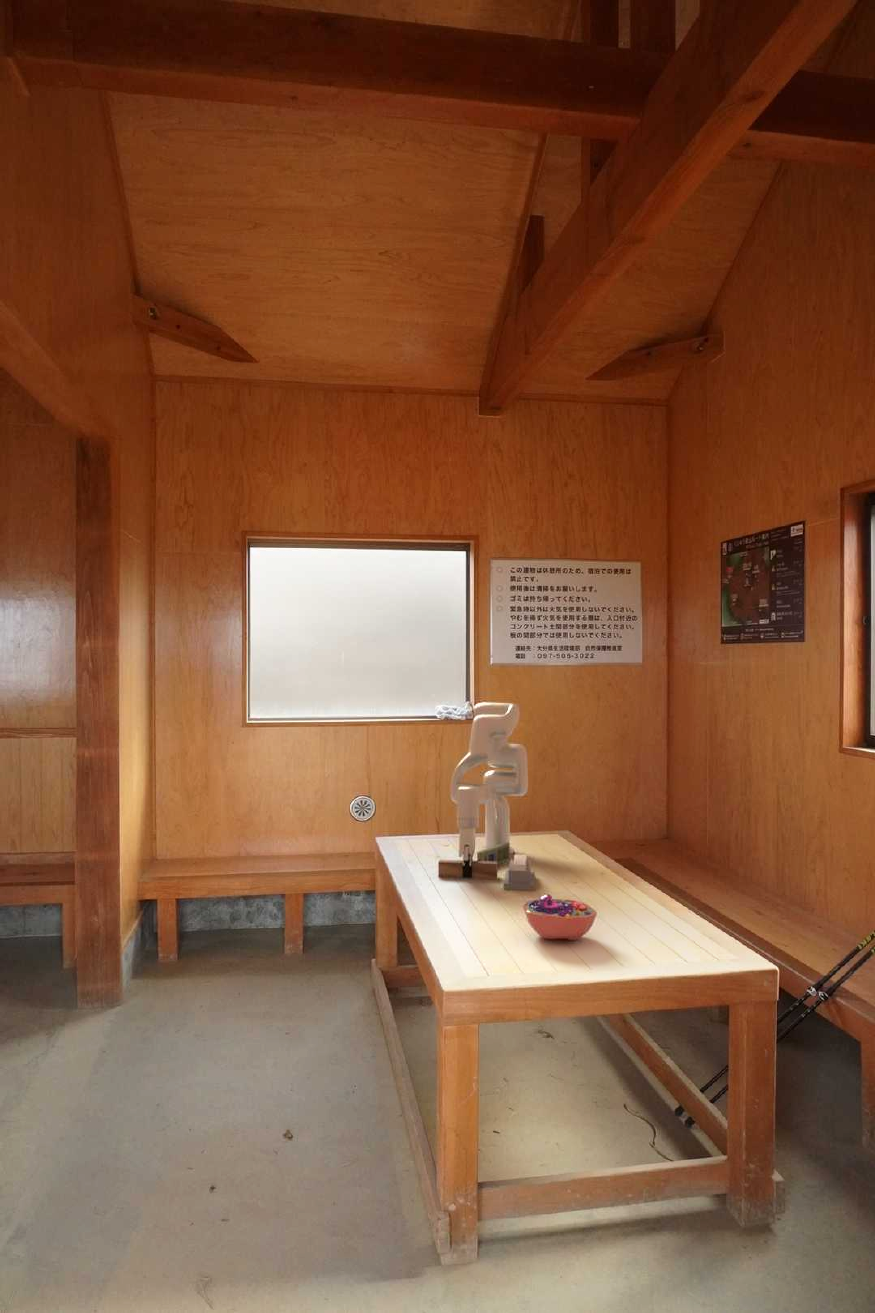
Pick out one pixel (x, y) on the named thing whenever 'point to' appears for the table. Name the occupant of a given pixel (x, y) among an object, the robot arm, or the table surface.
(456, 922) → the table surface
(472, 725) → the robot arm
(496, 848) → the handheld radio
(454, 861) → the walnut bar
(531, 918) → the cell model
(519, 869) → the ridge stand
